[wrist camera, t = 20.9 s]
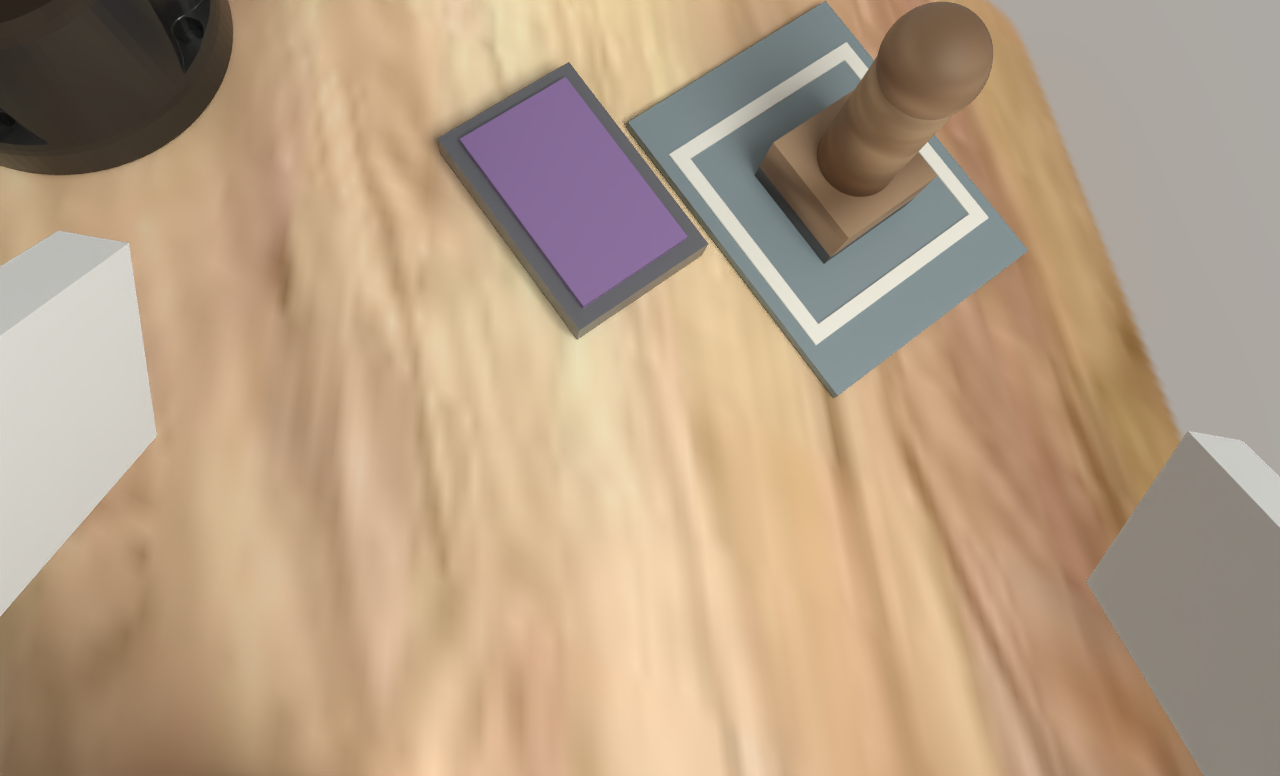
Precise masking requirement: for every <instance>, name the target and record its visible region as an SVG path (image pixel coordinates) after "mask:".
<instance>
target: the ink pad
mask: <svg viewBox="0 0 1280 776" xmlns="http://www.w3.org/2000/svg"><path fill="white" fill-rule="evenodd" d="M437 139H438V144H439V148H440V153H441V155H442V156H443V158H444V159H445V160H446V162H447V163H448V165H449V166H450V167H451V169H452V170H453V171H454V173H455V174H456V175H457V177H458V178H459V179H460V181H461V182H462V184H463V185H464V186H465V188H466V189H467V190H468V192H469V193H470V194H471V196H472V197H473V198H474V200H475V201H476V203H477V204H478V205H479V207H480V208H481V209H482V211H483V212H484V213H485V215H486V216H487V218H488V219H489V220H490V222H491V223H492V224H493V226H494V227H495V228H496V230H497V231H498V232H499V234H500V235H501V237H502V238H503V239H504V241H505V242H506V243H507V245H508V246H509V247H510V249H511V250H512V251H513V253H514V254H515V256H516V257H517V258H518V260H519V261H520V262H521V264H522V265H523V266H524V268H525V269H526V270H527V272H528V273H529V275H530V276H531V277H532V279H533V280H534V281H535V283H536V284H537V285H538V287H539V288H540V289H541V291H542V292H543V294H544V295H545V296H546V298H547V299H548V300H549V302H550V303H551V304H552V306H553V307H554V308H555V310H556V311H557V313H558V314H559V315H560V317H561V318H562V319H563V321H564V322H565V323H566V325H567V326H568V327H569V329H570V330H571V332H572V333H573V334H574V336H575V337H576V338H577V339H579V338H580V337H582V336H583V335H585V334H586V333H588V332H589V331H591V330H592V329H594V328H595V327H597V326H598V325H599V324H601V323H602V322H604V321H605V320H607V319H608V318H610V317H611V316H613V315H614V314H616V313H617V312H619V311H620V310H622V309H623V308H625V307H626V306H628V305H629V304H631V303H632V302H634V301H635V300H636V299H638V298H639V297H641V296H642V295H644V294H645V293H647V292H648V291H650V290H651V289H653V288H654V287H656V286H657V285H659V284H660V283H662V282H663V281H665V280H666V279H668V278H669V277H671V276H672V275H673V274H675V273H676V272H678V271H679V270H681V269H682V268H684V267H685V266H687V265H688V264H690V263H691V262H693V261H694V260H696V259H697V258H699V257H700V256H702V254H703V252H704V250H705V249H706V247H707V245H708V243H707V242H706V240H705V239H704V238H703V236H702V235H701V234H700V233H699V231H698V230H697V229H696V227H695V226H694V225H693V223H692V222H691V221H690V220H689V218H688V217H687V216H686V214H685V213H684V212H683V210H682V209H681V208H680V206H679V205H678V204H677V203H676V201H675V200H674V199H673V197H672V196H671V195H670V193H669V192H668V191H667V189H666V188H665V187H664V186H663V184H662V183H661V182H660V180H659V179H658V178H657V176H656V175H655V174H654V173H653V171H652V170H651V169H650V167H649V166H648V165H647V163H646V162H645V161H644V159H643V158H642V157H641V156H640V154H639V153H638V152H637V150H636V149H635V148H634V146H633V145H632V144H631V142H630V141H629V140H628V139H627V137H626V136H625V135H624V133H623V132H622V131H621V129H620V128H619V127H618V125H617V124H616V123H615V122H614V120H613V119H612V118H611V116H610V115H609V114H608V112H607V111H606V110H605V109H604V107H603V106H602V105H601V103H600V102H599V101H598V99H597V98H596V97H595V95H594V94H593V93H592V92H591V90H590V89H589V88H588V86H587V85H586V84H585V82H584V81H583V80H582V78H581V77H580V76H579V75H578V73H577V72H576V71H575V69H574V68H573V67H572V65H571V64H570V63H569V62H568V63H566V64H565V65H563V66H561V67H560V68H558V69H556V70H554V71H553V72H551V73H549V74H547V75H546V76H544V77H542V78H541V79H539V80H537V81H535V82H534V83H532V84H530V85H529V86H527V87H525V88H523V89H522V90H520V91H518V92H517V93H515V94H513V95H511V96H510V97H508V98H506V99H504V100H503V101H501V102H499V103H498V104H496V105H494V106H492V107H491V108H489V109H487V110H486V111H484V112H482V113H480V114H479V115H477V116H475V117H473V118H472V119H470V120H468V121H467V122H465V123H463V124H461V125H460V126H458V127H456V128H455V129H453V130H451V131H449V132H448V133H446V134H444V135H442V136H441V137H439V138H437Z"/></svg>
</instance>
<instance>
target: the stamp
mask: <svg viewBox="0 0 1280 776" xmlns="http://www.w3.org/2000/svg"><path fill="white" fill-rule="evenodd" d="M992 62H993V46H992V40H991V37H990V34H989V32H988V29H987V27H986V26H985V24H984V23H983V21H982V20H981V19H980V18H979V17H978V16H977V15H976V14H975V13H974V12H972V11H971V10H970V9H968V8H966V7H964V6H961V5H959V4H955V3H950V2H934V3H928V4H925V5H922V6H919V7H916V8H914V9H913V10H911V11H909V12H907V13H906V14H905V15H903V16H902V17H901V18H900V19H898V20H897V21H896V22H895V23H894V24H893V26H892V27H891V28H890V29H889V31H888V32H887V34H886V35H885V37H884V39H883V41H882V43H881V46H880V49H879V52H878V56H877V57H876V59H875V60H874V62H873V63H872V65H871V66H870V68H869V69H868V71H867V72H866V73H865V75H864V76H863V78H862V79H861V81H860V82H859V84H858V85H857V87H856V88H855V89H854V90H853V91H851V92H850V93H848V94H847V95H845V96H844V97H842V98H841V99H839V100H838V101H836V102H834V103H833V104H831V105H830V106H828V107H827V108H825V109H824V110H822V111H821V112H819V113H818V114H816V115H815V116H813V117H812V118H810V119H809V120H807V121H805V122H804V123H802V124H801V125H799V126H798V127H796V128H795V129H793V130H792V131H790V132H789V133H787V134H786V135H784V136H783V137H781V138H780V139H778V140H776V141H775V142H773V144H772V146H771V147H770V149H769V151H768V153H767V154H766V156H765V158H764V160H763V161H762V163H761V165H760V167H759V168H758V170H757V172H756V174H755V177H756V178H757V179H758V181H759V182H760V183H761V184H762V186H763V187H764V188H765V190H766V191H767V192H768V193H769V195H770V196H771V197H772V198H773V200H774V201H775V202H776V204H777V205H778V206H779V207H780V209H781V210H782V211H783V213H784V214H785V215H786V216H787V218H788V219H789V220H790V221H791V223H792V224H793V225H794V227H795V228H796V229H797V230H798V232H799V233H800V234H801V236H802V237H803V238H804V239H805V241H806V242H807V243H808V244H809V246H810V247H811V248H812V250H813V251H814V252H815V253H816V255H817V256H818V257H819V258H820V260H821V261H822V262H823V264H825V263H826V262H828V261H829V260H830V259H832V258H833V257H835V256H836V255H837V254H839V253H840V252H842V251H843V250H844V249H846V248H847V247H849V246H850V245H852V244H853V243H854V242H856V241H857V240H859V239H860V238H861V237H863V236H864V235H866V234H867V233H868V232H870V231H871V230H873V229H874V228H875V227H877V226H878V225H880V224H881V223H882V222H884V221H885V220H887V219H888V218H889V217H891V216H892V215H894V214H895V213H896V212H898V211H899V210H901V209H902V208H903V207H905V206H906V205H907V204H908V203H909V202H911V201H912V200H913V199H914V198H915V197H916V196H917V195H918V194H919V193H920V192H921V191H922V190H923V189H924V188H925V187H926V186H927V185H928V184H929V183H930V182H931V181H932V180H933V179H934V178H935V177H937V175H936V173H935V172H934V171H933V170H932V168H931V167H930V166H929V165H928V163H927V162H926V161H925V160H924V158H923V157H922V156H921V155H920V154H919V151H920V150H921V149H922V147H923V146H924V145H925V144H926V143H927V142H928V141H929V140H930V139H931V138H932V137H933V136H934V135H935V134H936V133H937V131H938V130H939V129H940V128H941V127H942V126H943V125H944V124H945V123H946V122H947V121H948V120H949V119H950V118H951V116H952V115H953V114H955V113H957V112H959V111H961V110H962V109H964V108H965V107H966V106H968V105H969V104H970V103H971V102H972V101H973V100H974V99H975V98H976V97H977V96H978V95H979V93H980V92H981V90H982V89H983V87H984V86H985V84H986V82H987V80H988V77H989V75H990V71H991V68H992Z"/></svg>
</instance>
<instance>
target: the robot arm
mask: <svg viewBox="0 0 1280 776" xmlns="http://www.w3.org/2000/svg"><path fill="white" fill-rule="evenodd" d="M232 41H233V26H232V17H231V11H230V7H229V3H228V0H0V165H2V166H5V167H8V168H12V169H16V170H21V171H26V172H32V173H40V174H55V175H61V174H81V173H89V172H96V171H100V170H105V169H109V168H113V167H117V166H120V165H123V164H126V163H129V162H132V161H134V160H137V159H139V158H141V157H144V156H146V155H148V154H150V153H152V152H154V151H156V150H157V149H159V148H161V147H162V146H164V145H166V144H167V143H169V142H170V141H172V140H173V139H174V138H176V137H177V136H178V135H180V134H181V133H182V132H183V131H185V130H186V129H187V128H188V127H189V126H190V125H191V124H192V123H193V122H194V121H195V120H196V119H197V118H198V117H199V116H200V115H201V113H202V112H203V111H204V110H205V109H206V107H207V106H208V105H209V103H210V102H211V100H212V99H213V97H214V96H215V94H216V92H217V91H218V89H219V87H220V85H221V83H222V81H223V78H224V76H225V73H226V71H227V67H228V64H229V60H230V55H231V50H232ZM156 437H157V433H156V426H155V419H154V413H153V406H152V399H151V392H150V385H149V378H148V371H147V364H146V357H145V351H144V344H143V337H142V330H141V323H140V316H139V309H138V302H137V295H136V289H135V282H134V275H133V268H132V261H131V254H130V247H129V243H126V242H120V241H115V240H109V239H104V238H98V237H92V236H87V235H81V234H75V233H70V232H64V231H57V232H55V233H54V234H52V235H50V236H49V237H47V238H46V239H44V240H42V241H41V242H39V243H37V244H36V245H34V246H33V247H31V248H29V249H28V250H26V251H24V252H23V253H21V254H20V255H18V256H16V257H15V258H13V259H11V260H10V261H8V262H6V263H5V264H3V265H2V266H0V616H1V615H2V614H3V613H4V612H5V610H6V609H7V608H8V607H9V606H10V605H11V604H12V602H13V601H14V600H15V599H16V598H17V597H18V595H19V594H20V593H21V592H22V591H23V590H24V589H25V587H26V586H27V585H28V584H29V583H30V582H31V580H32V579H33V578H34V577H35V576H36V575H37V574H38V572H39V571H40V570H41V569H42V568H43V567H44V566H45V564H46V563H47V562H48V561H49V560H50V559H51V557H52V556H53V555H54V554H55V553H56V552H57V551H58V549H59V548H60V547H61V546H62V545H63V544H64V542H65V541H66V540H67V539H68V538H69V537H70V536H71V534H72V533H73V532H74V531H75V530H76V529H77V528H78V526H79V525H80V524H81V523H82V522H83V521H84V519H85V518H86V517H87V516H88V515H89V514H90V513H91V511H92V510H93V509H94V508H95V507H96V506H97V504H98V503H99V502H100V501H101V500H102V499H103V498H104V496H105V495H106V494H107V493H108V492H109V491H110V489H111V488H112V487H113V486H114V485H115V484H116V483H117V481H118V480H119V479H120V478H121V477H122V476H123V475H124V473H125V472H126V471H127V470H128V469H129V468H130V466H131V465H132V464H133V463H134V462H135V461H136V460H137V458H138V457H139V456H140V455H141V454H142V453H143V451H144V450H145V449H146V448H147V447H148V446H149V445H150V443H151V442H152V441H153V440H154V439H155V438H156ZM1086 583H1087V584H1088V586H1089V588H1090V589H1091V591H1092V593H1093V594H1094V596H1095V598H1096V599H1097V601H1098V602H1099V604H1100V606H1101V607H1102V609H1103V611H1104V612H1105V614H1106V616H1107V617H1108V619H1109V621H1110V622H1111V624H1112V625H1113V627H1114V629H1115V630H1116V632H1117V634H1118V635H1119V637H1120V639H1121V640H1122V642H1123V644H1124V645H1125V647H1126V649H1127V650H1128V652H1129V653H1130V655H1131V657H1132V658H1133V660H1134V662H1135V663H1136V665H1137V667H1138V668H1139V670H1140V672H1141V673H1142V675H1143V676H1144V678H1145V680H1146V681H1147V683H1148V685H1149V686H1150V688H1151V690H1152V691H1153V693H1154V695H1155V696H1156V698H1157V700H1158V701H1159V703H1160V704H1161V706H1162V708H1163V709H1164V711H1165V713H1166V714H1167V716H1168V718H1169V719H1170V721H1171V723H1172V724H1173V726H1174V727H1175V729H1176V731H1177V732H1178V734H1179V736H1180V737H1181V739H1182V741H1183V742H1184V744H1185V746H1186V747H1187V749H1188V751H1189V752H1190V754H1191V755H1192V757H1193V759H1194V760H1195V762H1196V764H1197V765H1198V767H1199V769H1200V770H1201V772H1202V774H1203V775H1204V776H1280V477H1279V476H1278V475H1277V474H1276V473H1275V472H1274V471H1273V470H1272V469H1271V468H1270V467H1269V466H1268V465H1267V464H1266V463H1265V462H1264V461H1263V460H1262V459H1261V458H1260V457H1258V455H1257V454H1256V453H1254V452H1253V451H1252V450H1251V449H1250V448H1249V447H1248V446H1247V445H1246V444H1245V443H1244V442H1243V441H1241V440H1235V439H1230V438H1225V437H1219V436H1213V435H1208V434H1202V433H1196V432H1191V431H1188V432H1187V433H1186V435H1185V436H1184V437H1183V439H1182V440H1181V442H1180V443H1179V445H1178V446H1177V448H1176V449H1175V451H1174V452H1173V454H1172V455H1171V457H1170V458H1169V460H1168V461H1167V463H1166V464H1165V466H1164V467H1163V469H1162V470H1161V472H1160V473H1159V475H1158V476H1157V478H1156V479H1155V480H1154V482H1153V483H1152V485H1151V486H1150V488H1149V489H1148V491H1147V492H1146V494H1145V495H1144V497H1143V498H1142V500H1141V501H1140V503H1139V504H1138V506H1137V507H1136V509H1135V510H1134V512H1133V513H1132V515H1131V516H1130V518H1129V519H1128V521H1127V522H1126V523H1125V525H1124V526H1123V528H1122V529H1121V531H1120V532H1119V534H1118V535H1117V537H1116V538H1115V540H1114V541H1113V543H1112V544H1111V546H1110V547H1109V549H1108V550H1107V552H1106V553H1105V555H1104V556H1103V558H1102V559H1101V561H1100V562H1099V564H1098V565H1097V566H1096V568H1095V569H1094V571H1093V572H1092V574H1091V575H1090V577H1089V578H1088V580H1087V581H1086Z"/></svg>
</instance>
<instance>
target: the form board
mask: <svg viewBox="0 0 1280 776" xmlns="http://www.w3.org/2000/svg"><path fill="white" fill-rule="evenodd" d="M873 62H874V60H873V59H872V57H871V56H870V55H869V54H868V53H867V51H866V50H865V49H864V48H863V46H862V45H861V44H860V43H859V41H858V40H857V39H856V38H855V36H854V35H853V34H852V33H851V32H850V30H849V29H848V28H847V27H846V25H845V24H844V23H843V22H842V20H841V19H840V18H839V17H838V16H837V14H836V13H835V12H834V11H833V9H832V8H831V7H830V6H829V4H828V3H827V2H826V1H825V2H823V3H821V4H820V5H818V6H816V7H815V8H813V9H812V10H810V11H808V12H807V13H805V14H803V15H802V16H800V17H799V18H797V19H795V20H794V21H792V22H790V23H789V24H787V25H786V26H784V27H782V28H781V29H779V30H777V31H776V32H774V33H772V34H771V35H769V36H768V37H766V38H764V39H763V40H761V41H759V42H758V43H756V44H755V45H753V46H751V47H750V48H748V49H746V50H745V51H743V52H741V53H740V54H738V55H737V56H735V57H733V58H732V59H730V60H728V61H727V62H725V63H724V64H722V65H720V66H719V67H717V68H715V69H714V70H712V71H710V72H709V73H707V74H706V75H704V76H702V77H701V78H699V79H697V80H696V81H694V82H693V83H691V84H689V85H688V86H686V87H684V88H683V89H681V90H680V91H678V92H676V93H675V94H673V95H671V96H670V97H668V98H666V99H665V100H663V101H662V102H660V103H658V104H657V105H655V106H653V107H652V108H650V109H649V110H647V111H645V112H644V113H642V114H640V115H639V116H637V117H635V118H634V119H632V120H631V121H629V122H628V124H627V129H628V131H629V132H630V133H631V134H632V136H633V137H634V138H635V140H636V141H637V142H638V144H639V145H640V146H641V147H642V149H643V150H644V151H645V153H646V154H647V155H648V157H649V158H650V159H651V160H652V162H653V163H654V164H655V166H656V167H657V168H658V170H659V171H660V172H661V174H662V175H663V176H664V177H665V179H666V180H667V181H668V183H669V184H670V185H671V187H672V188H673V189H674V190H675V192H676V193H677V194H678V196H679V197H680V198H681V200H682V201H683V202H684V204H685V205H686V206H687V207H688V209H689V210H690V211H691V213H692V214H693V215H694V217H695V218H696V219H697V220H698V222H699V223H700V224H701V226H702V227H703V228H704V230H705V231H706V232H707V234H708V235H709V236H710V237H711V239H712V240H713V241H714V243H715V244H716V245H717V247H718V248H719V249H720V250H721V252H722V253H723V254H724V256H725V257H726V258H727V260H728V261H729V262H730V264H731V265H732V266H733V267H734V269H735V270H736V271H737V273H738V274H739V275H740V277H741V278H742V279H743V280H744V282H745V283H746V284H747V286H748V287H749V288H750V290H751V291H752V292H753V293H754V295H755V296H756V297H757V299H758V300H759V301H760V303H761V304H762V305H763V307H764V308H765V309H766V310H767V312H768V313H769V314H770V316H771V317H772V318H773V320H774V321H775V322H776V323H777V325H778V326H779V327H780V329H781V330H782V331H783V333H784V334H785V335H786V337H787V338H788V339H789V340H790V342H791V343H792V344H793V346H794V347H795V348H796V350H797V351H798V352H799V353H800V355H801V356H802V357H803V359H804V360H805V361H806V363H807V364H808V365H809V367H810V368H811V369H812V370H813V372H814V373H815V374H816V376H817V377H818V378H819V380H820V381H821V382H822V383H823V385H824V386H825V387H826V389H827V390H828V391H829V393H830V394H831V395H832V396H833V398H834V397H836V396H838V395H839V394H841V393H842V392H843V391H844V390H846V389H847V388H848V387H850V386H851V385H852V384H854V383H855V382H856V381H858V380H859V379H860V378H862V377H863V376H864V375H866V374H867V373H868V372H869V371H871V370H872V369H873V368H875V367H876V366H877V365H879V364H880V363H881V362H883V361H884V360H885V359H887V358H888V357H889V356H890V355H892V354H893V353H894V352H896V351H897V350H898V349H900V348H901V347H902V346H904V345H905V344H906V343H908V342H909V341H910V340H911V339H913V338H914V337H915V336H917V335H918V334H919V333H921V332H922V331H923V330H925V329H926V328H927V327H929V326H930V325H931V324H933V323H934V322H935V321H936V320H938V319H939V318H940V317H942V316H943V315H944V314H946V313H947V312H948V311H950V310H951V309H952V308H954V307H955V306H956V305H957V304H959V303H960V302H961V301H963V300H964V299H965V298H967V297H968V296H969V295H971V294H972V293H973V292H975V291H976V290H977V289H978V288H980V287H981V286H982V285H984V284H985V283H986V282H988V281H989V280H990V279H992V278H993V277H994V276H996V275H997V274H998V273H999V272H1001V271H1002V270H1003V269H1005V268H1006V267H1007V266H1009V265H1010V264H1011V263H1013V262H1014V261H1015V260H1017V259H1018V258H1019V257H1021V256H1022V255H1023V254H1024V253H1026V252H1027V251H1028V250H1027V248H1026V247H1025V246H1024V245H1023V243H1022V242H1021V241H1020V240H1019V239H1018V237H1017V236H1016V235H1015V234H1014V232H1013V231H1012V230H1011V229H1010V227H1009V226H1008V225H1007V224H1006V223H1005V221H1004V220H1003V219H1002V218H1001V216H1000V215H999V214H998V213H997V211H996V210H995V209H994V208H993V206H992V205H991V204H990V203H989V202H988V200H987V199H986V198H985V197H984V195H983V194H982V193H981V192H980V190H979V189H978V188H977V187H976V186H975V184H974V183H973V182H972V181H971V179H970V178H969V177H968V176H967V174H966V173H965V172H964V171H963V170H962V168H961V167H960V166H959V165H958V163H957V162H956V161H955V160H954V158H953V157H952V156H951V155H950V154H949V152H948V151H947V150H946V149H945V147H944V146H943V145H942V144H941V142H940V141H939V140H938V139H937V138H936V136H935V135H934V136H933V137H932V138H931V139H930V140H929V141H928V142H927V143H926V144H925V145H924V146H923V147H922V149H921V150H920V151H919V154H920V155H921V156H922V157H923V158H924V160H925V161H926V162H927V163H928V165H929V166H930V167H931V168H932V170H933V171H934V172H935V173H936V175H937V177H935V178H934V179H933V180H932V181H931V182H930V183H929V184H928V185H927V186H926V187H925V188H924V189H923V190H922V191H921V192H920V193H919V194H918V195H917V196H916V197H915V198H914V199H913V200H912V201H911V202H909V203H908V204H907V205H906V206H905V207H903V208H902V209H901V210H899V211H898V212H896V213H895V214H894V215H892V216H891V217H889V218H888V219H887V220H885V221H884V222H882V223H881V224H880V225H878V226H877V227H875V228H874V229H873V230H871V231H870V232H868V233H867V234H866V235H864V236H863V237H861V238H860V239H859V240H857V241H856V242H854V243H853V244H852V245H850V246H849V247H847V248H846V249H844V250H843V251H842V252H840V253H839V254H837V255H836V256H835V257H833V258H832V259H830V260H829V261H828V262H826V263H825V264H823V262H822V261H821V260H820V258H819V257H818V256H817V255H816V253H815V252H814V251H813V250H812V248H811V247H810V246H809V244H808V243H807V242H806V241H805V239H804V238H803V237H802V236H801V234H800V233H799V232H798V230H797V229H796V228H795V227H794V225H793V224H792V223H791V221H790V220H789V219H788V218H787V216H786V215H785V214H784V213H783V211H782V210H781V209H780V207H779V206H778V205H777V204H776V202H775V201H774V200H773V198H772V197H771V196H770V195H769V193H768V192H767V191H766V190H765V188H764V187H763V186H762V184H761V183H760V182H759V181H758V179H757V178H756V177H755V174H756V172H757V170H758V168H759V167H760V165H761V163H762V161H763V160H764V158H765V156H766V154H767V153H768V151H769V149H770V147H771V146H772V144H773V142H775V141H776V140H778V139H780V138H781V137H783V136H784V135H786V134H787V133H789V132H790V131H792V130H793V129H795V128H796V127H798V126H799V125H801V124H802V123H804V122H805V121H807V120H809V119H810V118H812V117H813V116H815V115H816V114H818V113H819V112H821V111H822V110H824V109H825V108H827V107H828V106H830V105H831V104H833V103H834V102H836V101H838V100H839V99H841V98H842V97H844V96H845V95H847V94H848V93H850V92H851V91H853V90H854V89H855V88H856V87H857V85H858V84H859V82H860V81H861V79H862V78H863V76H864V75H865V73H866V72H867V71H868V69H869V68H870V66H871V65H872V63H873Z"/></svg>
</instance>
